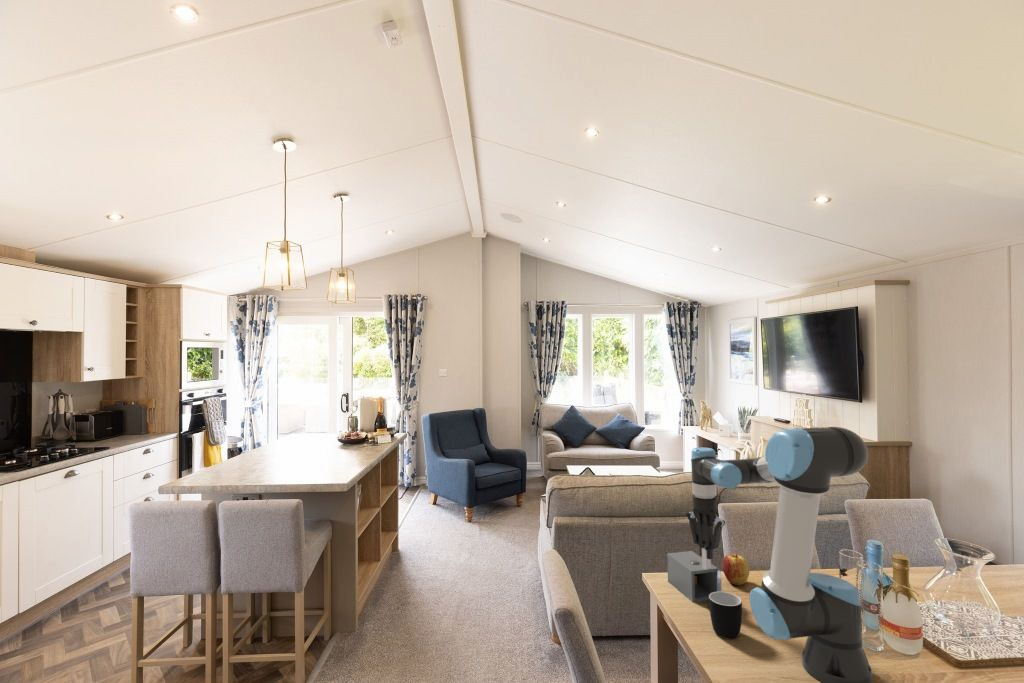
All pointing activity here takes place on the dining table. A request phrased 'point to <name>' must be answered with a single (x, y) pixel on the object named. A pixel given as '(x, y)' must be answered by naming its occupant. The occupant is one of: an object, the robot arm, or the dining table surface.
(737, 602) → the mug
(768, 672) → the dining table surface
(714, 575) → the case
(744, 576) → the apple
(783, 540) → the robot arm
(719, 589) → the door
